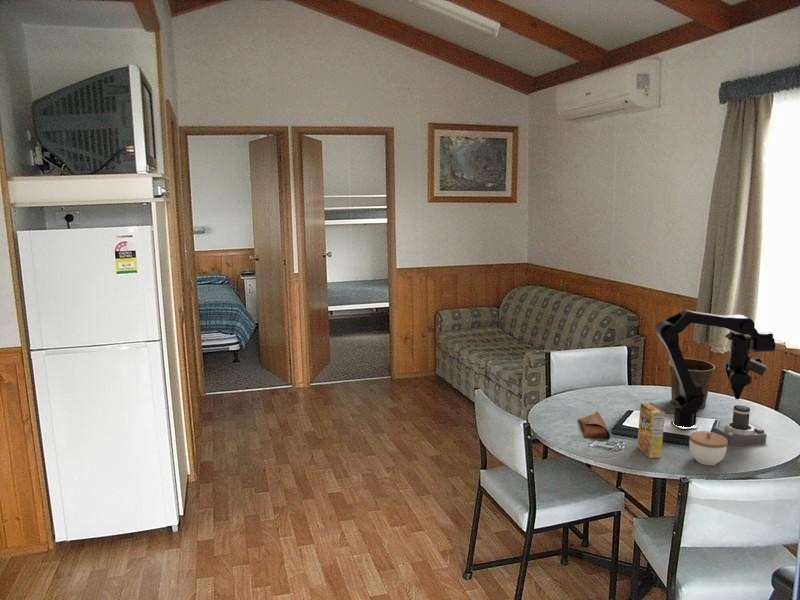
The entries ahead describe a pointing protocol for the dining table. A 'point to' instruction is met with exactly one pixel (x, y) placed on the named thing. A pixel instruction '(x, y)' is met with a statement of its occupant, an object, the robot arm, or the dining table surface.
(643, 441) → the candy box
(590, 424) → the sunglasses case
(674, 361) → the robot arm
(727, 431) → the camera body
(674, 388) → the plant pot
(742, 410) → the lens
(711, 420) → the dining table surface
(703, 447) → the lidded jar
